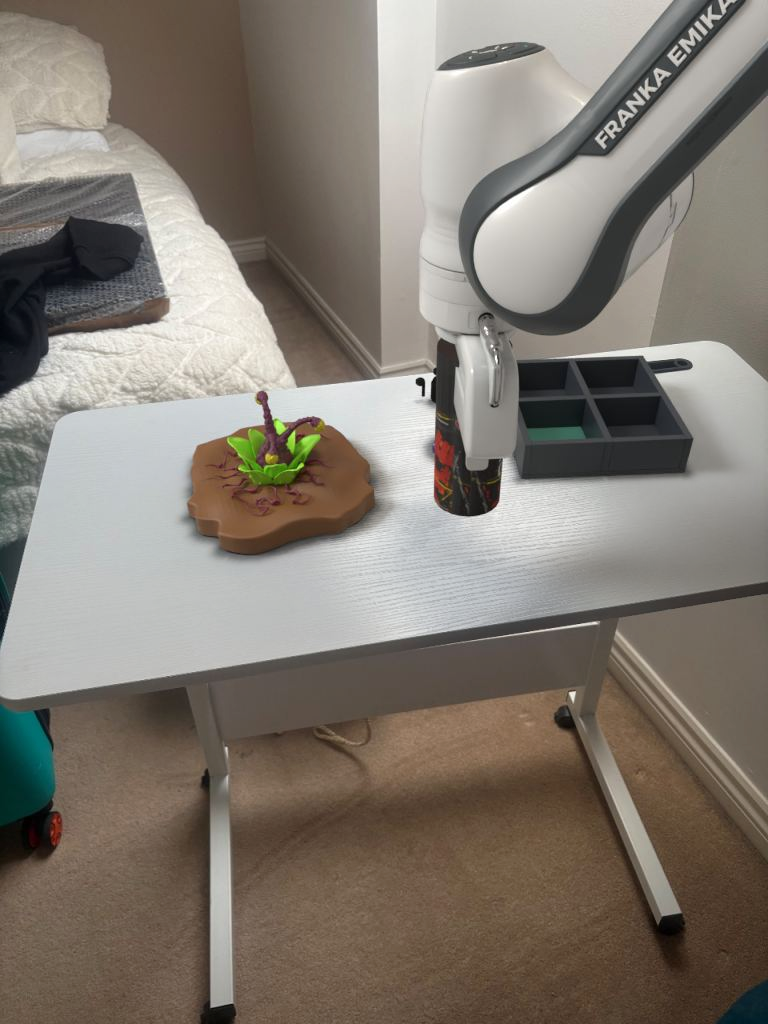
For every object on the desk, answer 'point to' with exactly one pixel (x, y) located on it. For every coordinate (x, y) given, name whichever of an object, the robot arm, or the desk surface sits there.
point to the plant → (278, 484)
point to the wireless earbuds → (421, 382)
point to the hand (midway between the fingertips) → (469, 440)
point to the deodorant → (458, 450)
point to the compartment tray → (596, 419)
